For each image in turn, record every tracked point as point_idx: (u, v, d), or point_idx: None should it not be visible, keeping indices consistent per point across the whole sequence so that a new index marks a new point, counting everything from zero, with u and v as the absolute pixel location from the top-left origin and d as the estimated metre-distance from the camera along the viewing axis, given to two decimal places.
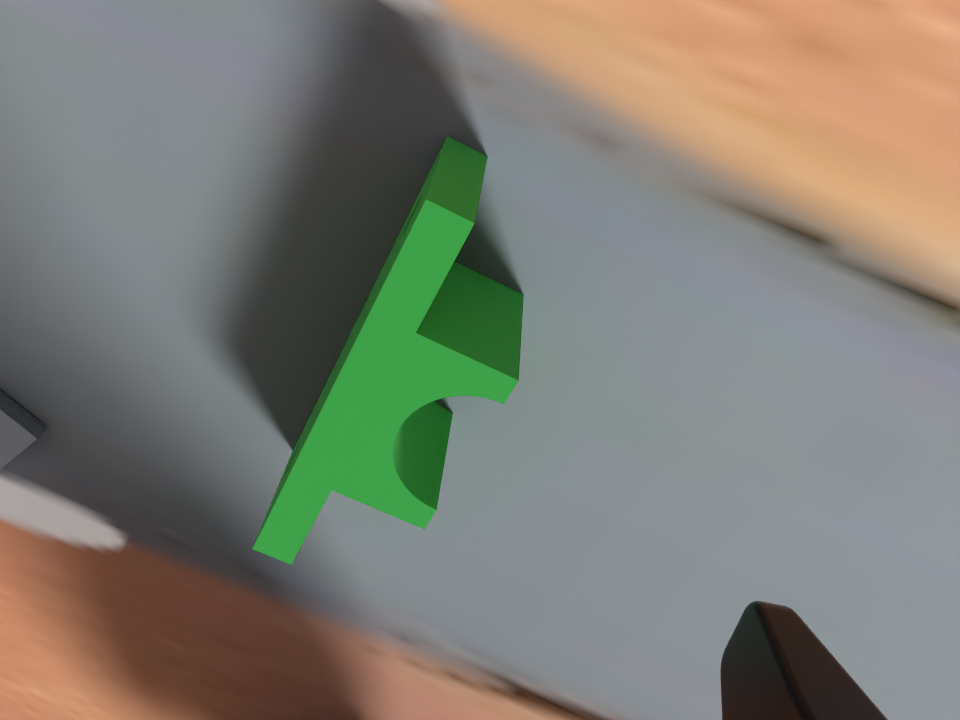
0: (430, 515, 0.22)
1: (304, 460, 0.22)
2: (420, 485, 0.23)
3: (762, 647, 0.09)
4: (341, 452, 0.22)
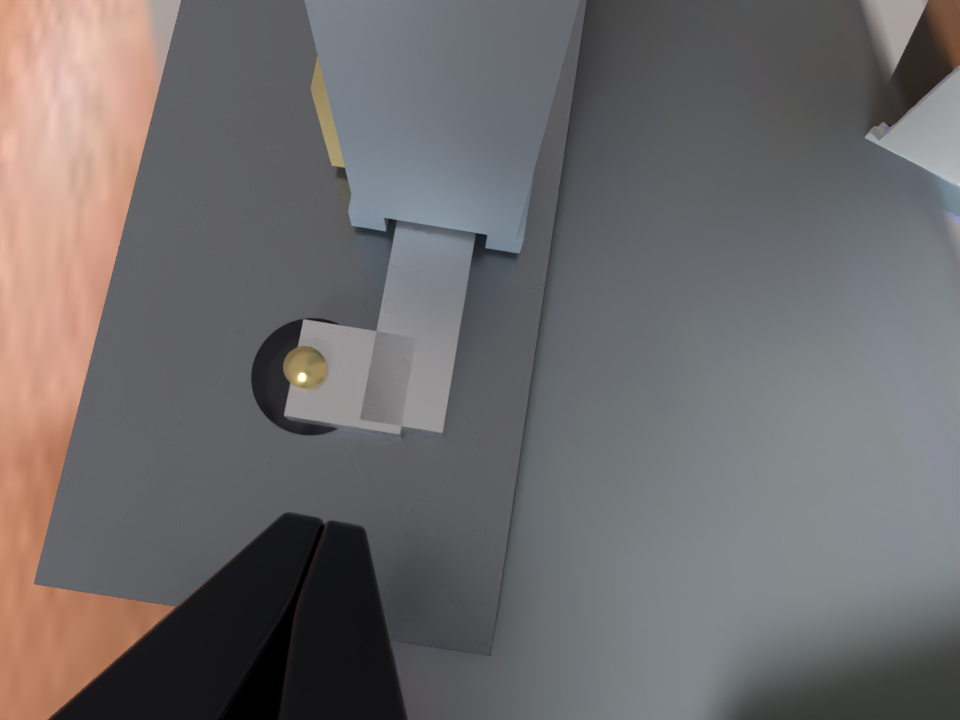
0: None
1: None
2: None
3: None
4: None
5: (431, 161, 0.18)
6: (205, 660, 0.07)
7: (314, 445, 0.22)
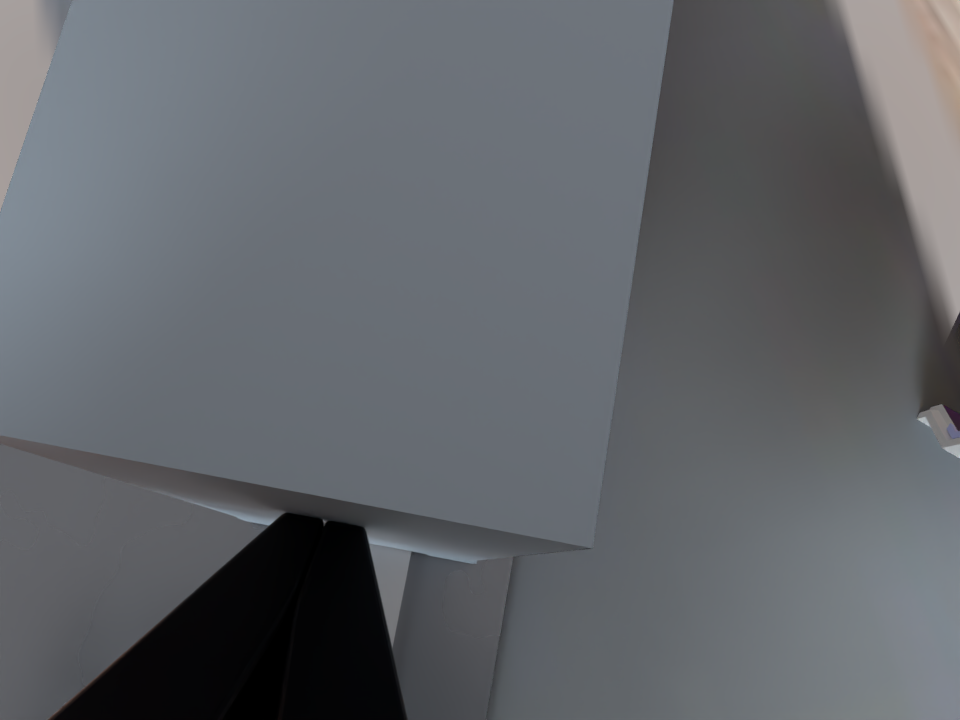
0: None
1: None
2: None
3: None
4: None
5: None
6: (205, 660, 0.07)
7: None
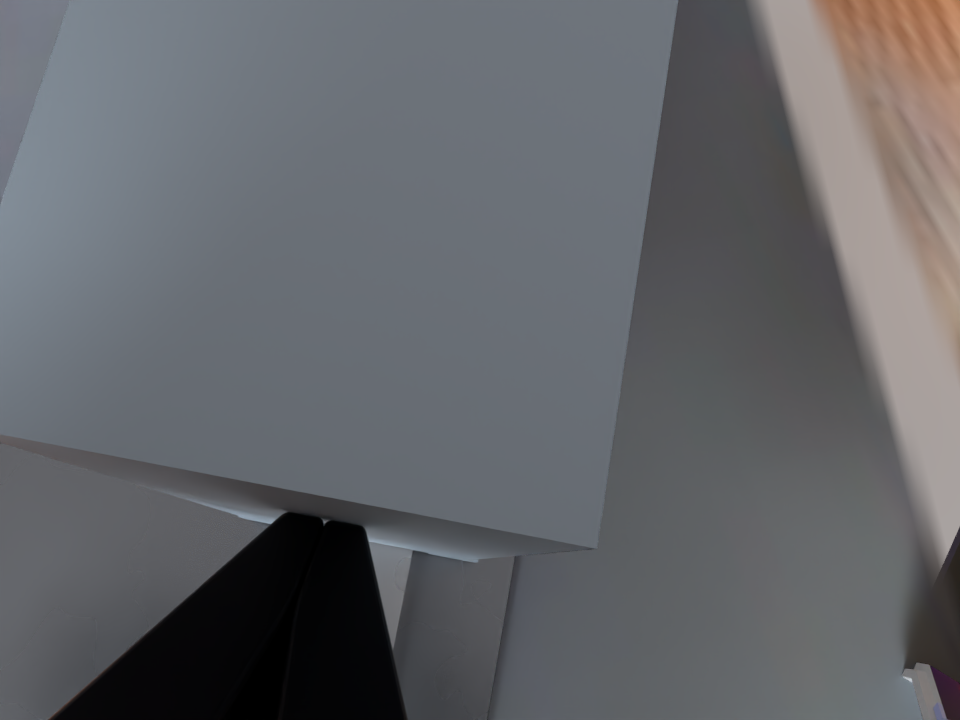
0: None
1: None
2: None
3: None
4: None
5: None
6: (205, 660, 0.07)
7: None
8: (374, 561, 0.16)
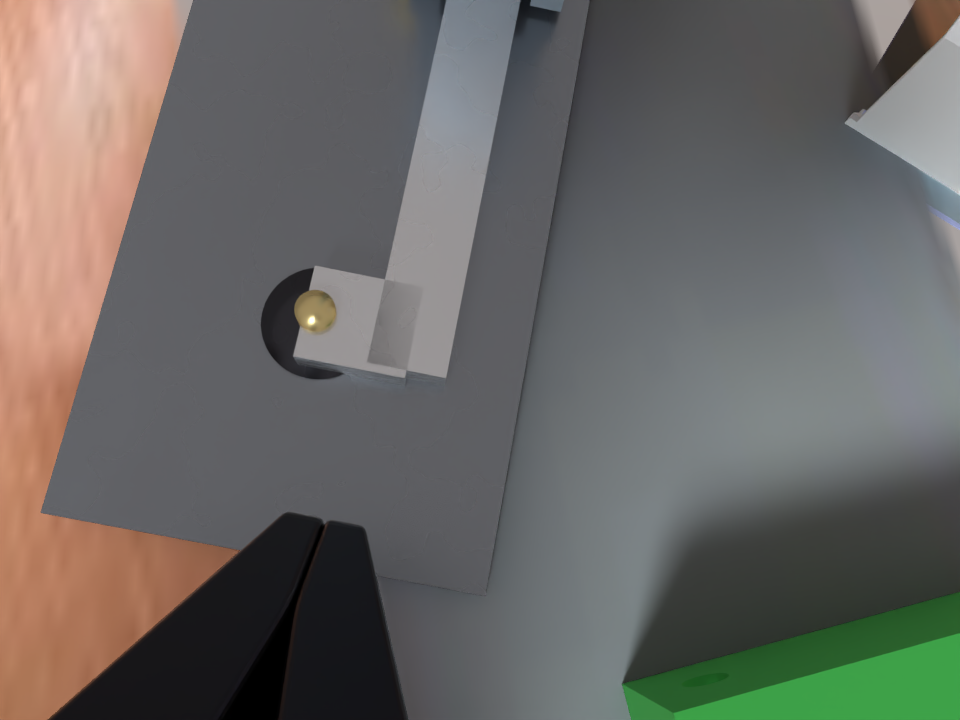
0: None
1: (833, 677, 0.18)
2: None
3: None
4: (874, 704, 0.18)
5: None
6: (205, 660, 0.07)
7: (320, 389, 0.23)
8: (495, 3, 0.24)
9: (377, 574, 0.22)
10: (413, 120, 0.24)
